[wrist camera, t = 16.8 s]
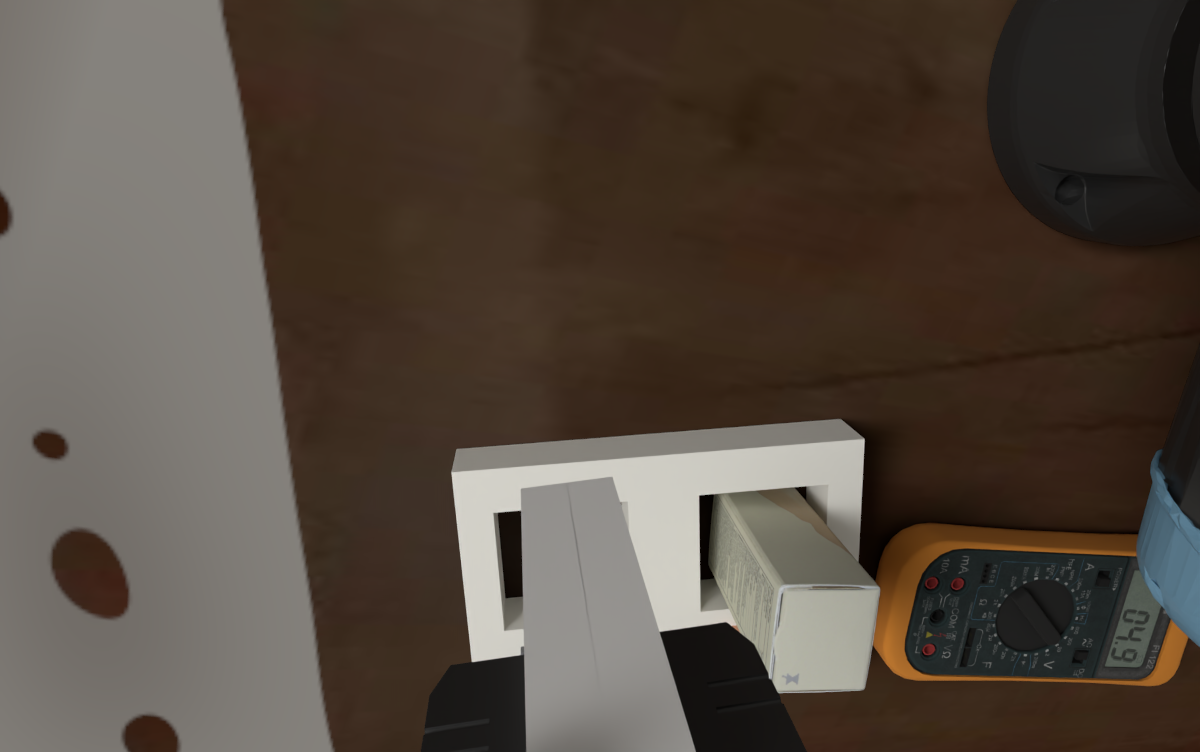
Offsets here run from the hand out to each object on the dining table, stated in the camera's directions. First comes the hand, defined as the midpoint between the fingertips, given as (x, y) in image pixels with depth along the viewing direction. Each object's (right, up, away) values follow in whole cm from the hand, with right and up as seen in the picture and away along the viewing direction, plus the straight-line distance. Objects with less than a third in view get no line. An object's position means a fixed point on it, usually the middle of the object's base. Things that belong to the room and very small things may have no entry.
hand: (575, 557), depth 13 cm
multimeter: (+24, -9, +33) cm, 42 cm away
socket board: (+3, -7, +29) cm, 30 cm away
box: (+8, -5, +30) cm, 31 cm away
